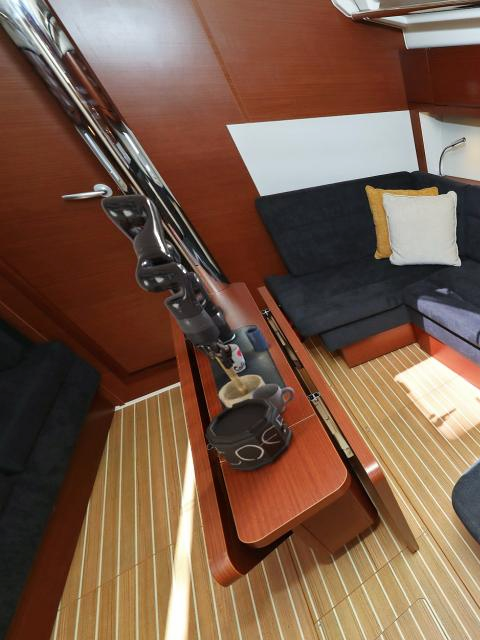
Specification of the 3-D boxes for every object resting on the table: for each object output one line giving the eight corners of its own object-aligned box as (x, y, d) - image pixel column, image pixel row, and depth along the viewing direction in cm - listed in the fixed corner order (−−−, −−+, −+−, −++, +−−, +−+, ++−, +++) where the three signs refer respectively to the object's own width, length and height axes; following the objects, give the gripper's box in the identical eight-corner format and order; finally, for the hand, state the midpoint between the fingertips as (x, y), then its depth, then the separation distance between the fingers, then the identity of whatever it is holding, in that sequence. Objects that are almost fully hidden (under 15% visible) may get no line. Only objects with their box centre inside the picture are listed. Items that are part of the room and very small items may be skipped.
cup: (238, 376, 132) (225, 358, 126) (221, 373, 134) (207, 355, 128) (254, 364, 139) (242, 345, 133) (238, 361, 140) (226, 343, 134)
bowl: (225, 400, 122) (215, 387, 118) (265, 382, 130) (256, 369, 125) (233, 419, 115) (222, 406, 111) (274, 400, 122) (266, 387, 118)
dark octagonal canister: (289, 465, 101) (266, 434, 91) (221, 481, 96) (190, 450, 87) (301, 421, 114) (282, 390, 105) (243, 433, 110) (218, 401, 101)
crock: (253, 348, 148) (243, 330, 142) (267, 343, 151) (257, 325, 145) (256, 353, 145) (246, 335, 139) (270, 348, 148) (260, 330, 142)
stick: (241, 393, 120) (214, 355, 109) (247, 390, 121) (222, 352, 110) (242, 396, 118) (215, 358, 108) (249, 393, 120) (223, 355, 109)
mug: (263, 424, 113) (250, 405, 107) (261, 408, 119) (248, 390, 113) (301, 409, 119) (290, 390, 113) (297, 394, 125) (287, 376, 119)
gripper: (226, 322, 103) (252, 363, 113) (193, 316, 106) (221, 356, 116) (203, 335, 97) (232, 377, 108) (168, 328, 100) (200, 370, 110)
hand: (226, 366), depth 112 cm, fingers closed on stick, 2 cm apart
